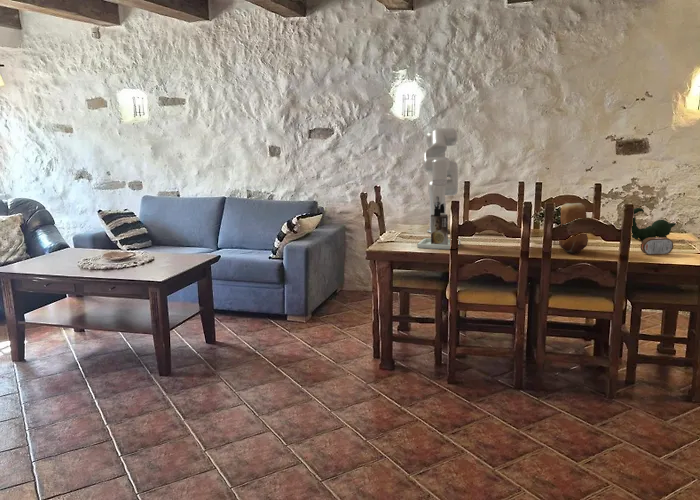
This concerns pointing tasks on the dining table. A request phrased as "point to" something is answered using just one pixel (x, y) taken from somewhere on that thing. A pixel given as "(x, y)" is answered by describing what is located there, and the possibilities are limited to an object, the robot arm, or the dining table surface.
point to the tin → (656, 245)
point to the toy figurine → (651, 228)
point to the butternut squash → (568, 215)
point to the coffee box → (439, 229)
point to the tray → (427, 244)
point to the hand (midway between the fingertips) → (439, 214)
